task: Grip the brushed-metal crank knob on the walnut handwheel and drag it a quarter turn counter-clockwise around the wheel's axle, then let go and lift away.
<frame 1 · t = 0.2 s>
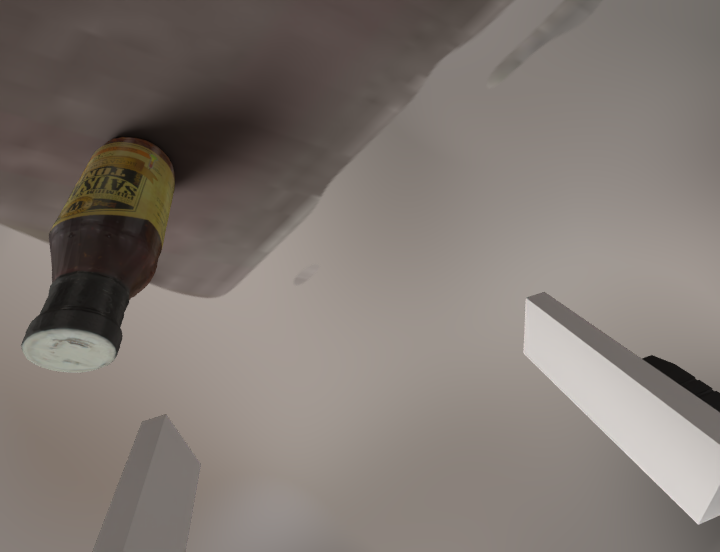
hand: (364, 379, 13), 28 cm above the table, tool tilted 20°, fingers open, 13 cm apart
sauce bottle: (136, 166, 32), on the table
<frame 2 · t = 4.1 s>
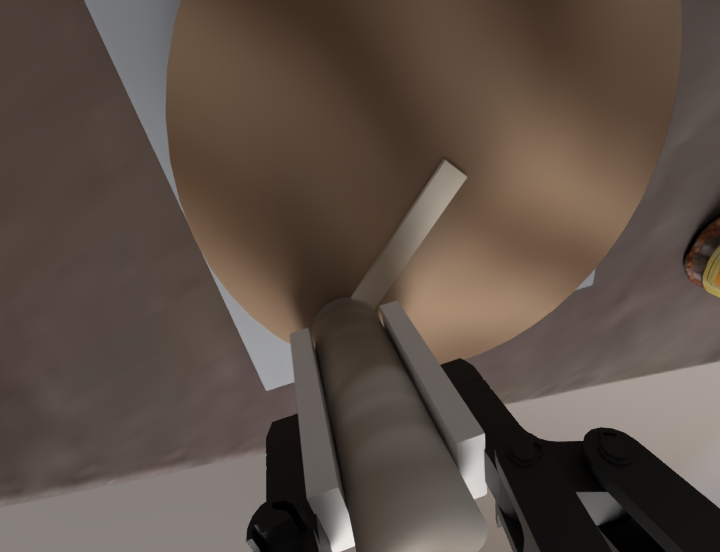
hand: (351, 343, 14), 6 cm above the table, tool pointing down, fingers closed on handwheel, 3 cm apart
sauce bottle: (709, 247, 26), on the table
handwheel: (497, 183, 11), point 7 cm above the table, hinge at 0.0°, touching gripper
wheel stand: (413, 153, 17), on the table
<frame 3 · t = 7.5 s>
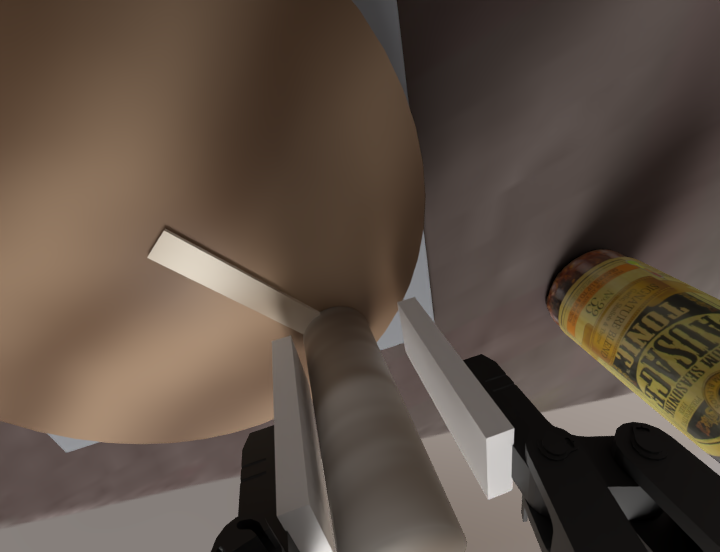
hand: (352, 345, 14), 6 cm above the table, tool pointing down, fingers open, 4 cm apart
sauce bottle: (576, 287, 24), on the table
handwheel: (128, 279, 10), point 7 cm above the table, hinge at 84.2°
wheel stand: (182, 208, 16), on the table
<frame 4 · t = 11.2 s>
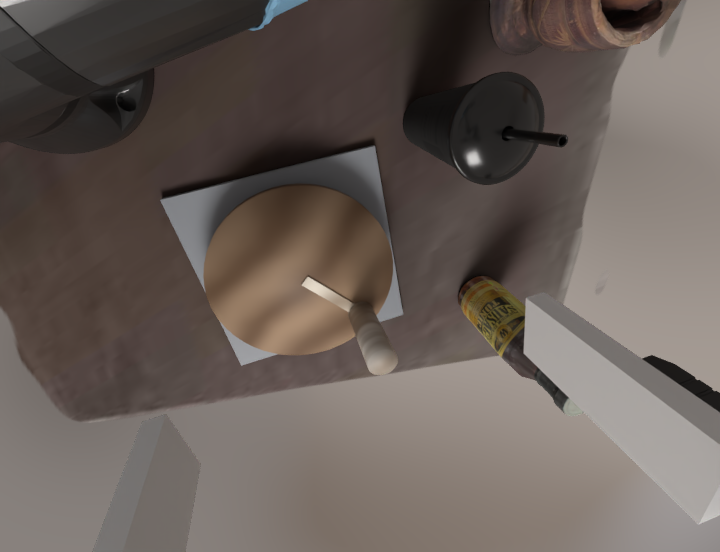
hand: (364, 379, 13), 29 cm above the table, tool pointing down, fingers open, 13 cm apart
drinking cup: (423, 121, 38), on the table
sauce bottle: (474, 293, 50), on the table
handwheel: (307, 293, 35), point 7 cm above the table, hinge at 84.2°
mortar and pestle: (535, 7, 35), on the table
wheel stand: (300, 263, 41), on the table
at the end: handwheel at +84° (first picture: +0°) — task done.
